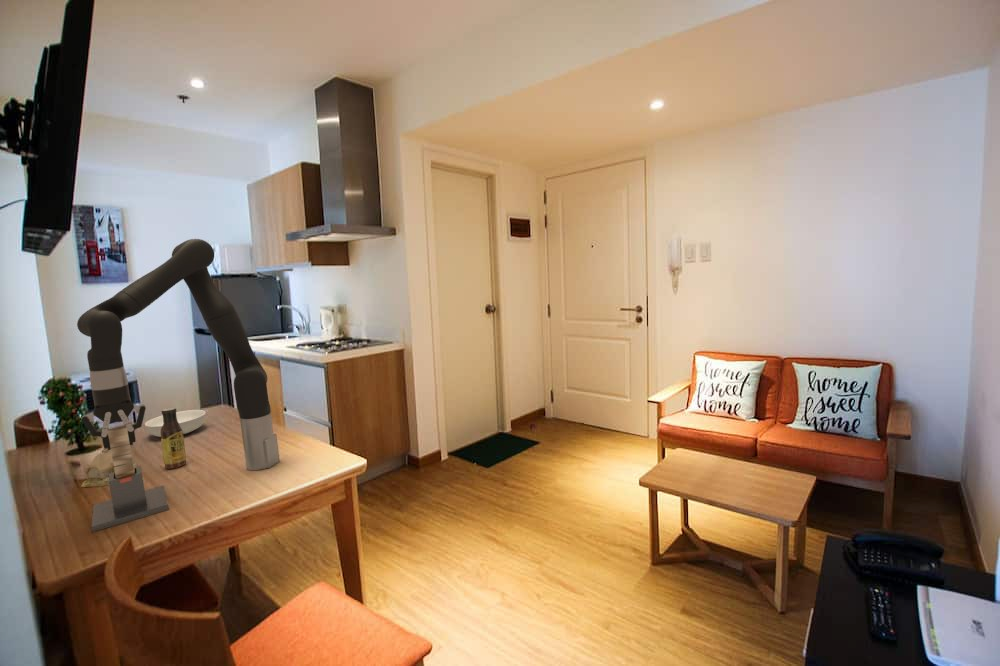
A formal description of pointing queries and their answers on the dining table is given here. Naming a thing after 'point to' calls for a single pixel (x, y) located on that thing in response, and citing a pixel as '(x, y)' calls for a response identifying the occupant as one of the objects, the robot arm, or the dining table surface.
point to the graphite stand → (128, 501)
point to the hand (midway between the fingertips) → (120, 446)
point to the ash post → (121, 451)
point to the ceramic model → (100, 469)
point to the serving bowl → (185, 419)
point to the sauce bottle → (172, 440)
